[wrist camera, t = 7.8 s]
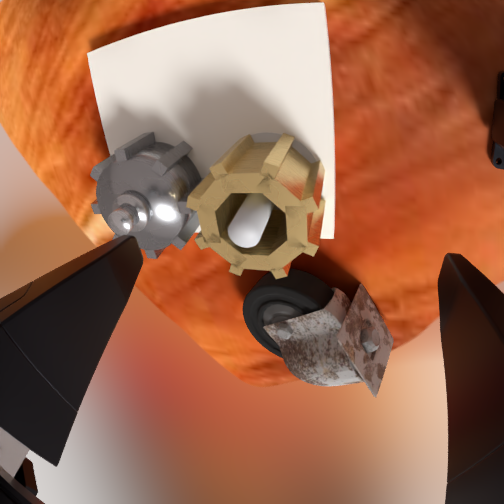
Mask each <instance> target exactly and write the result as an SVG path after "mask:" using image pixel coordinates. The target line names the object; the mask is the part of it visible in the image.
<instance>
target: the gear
mask: <svg viewBox="0 0 504 504" xmlns="http://www.w3.org/2000/svg"><path fill="white" fill-rule="evenodd" d="M192 149H193V148H192V147H191V146H190V145H189V144H187V143H186V142H185V141H182V142H181V143H180V144H178V145H177V146H173V145H170V144H168V143H164V142H156V140H155V136H154V132H148V133H143V134H142V135H140V136H138V137H136V138H134V139H133V140H131V141H129V142H128V143H126V144H124V145H122V146H121V147H119V148H117V149H116V150H114V153H115V154H113V155H111V156H110V157H108V158H107V159H105V160H104V161H102V162H100V163H99V164H97V165H96V166H94V167H93V169H92V172H91V174H90V176H91V177H92V178H94V179H95V180H96V181H97V188H96V195H97V199H96V200H95V201H94V202H93V203H92V204H91V206H92V209H93V212H94V214H102V216H103V218H104V220H105V221H106V223H107V224H108V226H109V227H110V228H111V229H112V231H113V232H114V233H115V235H114V237H113V240H114V239H116V238H118V237H120V236H122V235H133V236H135V237H136V239H137V241H138V244H139V247H140V249H144V250H145V252H146V255H147V258H153V259H157V258H158V257H159V255H160V254H161V253H162V252H163V250H164V249H165V248H166V247H167V246H169V245H170V244H173V245H175V246H176V247H177V248H179V249H180V250H181V249H182V248H183V247H184V246H185V244H186V243H187V242H188V240H189V239H190V238H191V236H192V235H193V234H194V232H195V231H196V229H197V228H198V227H199V225H200V223H199V218H198V214H197V211H195V210H193V209H190V208H187V207H186V205H187V199H188V195H189V194H190V193H191V192H192V191H193V190H194V189H195V188H196V187H197V186H198V185H199V184H200V183H201V182H202V181H203V180H204V178H201V177H200V174H199V172H198V170H197V168H196V166H195V165H194V163H193V162H192V160H191V159H190V158H189V157H188V154H189V153H190V151H191V150H192Z"/></svg>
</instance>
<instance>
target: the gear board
mask: <svg viewBox="0 0 504 504" xmlns="http://www.w3.org/2000/svg"><path fill="white" fill-rule="evenodd" d="M87 55H88V61H89V66H90V72H91V77H92V82H93V86H94V91H95V96H96V100H97V105H98V109H99V113H100V117H101V122H102V126H103V130H104V134H105V138H106V141H107V145H108V149H109V153H110V156H111V155H113V154H115V153H114V150H116V149H117V148H119V147H121V146H122V145H124V144H126V143H128V142H129V141H131V140H133V139H134V138H136V137H138V136H140V135H142V134H143V133H148V132H154V136H155V140H156V142H164V143H168V144H170V145H173V146H177V145H178V144H180V143H181V142H182V141H185V142H186V143H187V144H189V145H190V146H191V147H192V148H193V149H192V150H191V151H190V153H189V154H188V157H189V158H190V159H191V160H192V162H193V163H194V165H195V166H196V168H197V170H198V172H199V174H200V177H201V178H205V177H206V176H207V175H208V174H209V173H210V172H211V171H210V169H209V168H210V167H211V166H212V165H213V164H214V163H215V162H216V161H217V160H218V159H219V158H220V157H221V156H222V155H223V154H224V153H225V152H226V151H227V150H228V149H229V148H231V147H232V146H233V145H234V144H235V143H236V142H237V141H238V140H239V139H240V138H242V137H244V136H246V135H248V134H250V135H251V137H252V139H253V141H254V142H255V143H257V142H278V140H279V139H280V137H281V136H282V134H283V133H286V134H288V135H291V136H294V137H295V138H294V141H293V144H292V147H293V148H294V149H296V150H297V151H298V152H299V153H300V154H301V155H302V156H303V157H305V158H306V159H307V160H308V161H309V162H310V163H314V162H317V161H319V160H321V162H322V164H323V166H324V169H325V175H324V181H323V188H322V194H321V199H323V200H325V201H326V203H325V210H324V217H323V223H322V230H321V237H320V238H325V239H334V228H335V135H334V109H333V90H332V74H331V61H330V49H329V38H328V28H327V19H326V10H325V5H324V3H298V4H284V5H273V6H264V7H255V8H248V9H241V10H235V11H229V12H223V13H218V14H213V15H208V16H203V17H198V18H194V19H190V20H185V21H181V22H177V23H174V24H170V25H166V26H163V27H159V28H156V29H152V30H149V31H146V32H143V33H140V34H137V35H134V36H131V37H128V38H125V39H122V40H119V41H117V42H114V43H111V44H109V45H106V46H103V47H101V48H98V49H96V50H94V51H91V52H89V53H87ZM246 196H247V197H246V199H245V201H244V202H243V204H242V205H241V207H240V209H239V210H238V212H237V214H236V215H235V217H234V219H233V220H232V222H231V223H230V225H229V227H228V235H229V237H230V239H231V240H232V241H233V242H234V243H235V244H236V245H238V246H241V247H245V248H249V247H253V246H255V245H256V244H257V243H258V242H259V240H260V238H261V236H262V233H263V231H264V229H265V226H266V224H267V222H268V219H269V217H270V215H271V213H272V210H281V209H280V208H279V207H277V206H276V205H275V204H274V203H273V202H272V201H270V200H269V199H268V198H267V197H266V196H265V195H263V194H262V193H246ZM200 231H201V227H200V225H199V227H198V228H197V229H196V231H195V232H200Z"/></svg>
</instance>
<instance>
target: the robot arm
mask: <svg viewBox="0 0 504 504" xmlns="http://www.w3.org/2000/svg"><path fill="white" fill-rule="evenodd" d="M492 139H493V146H492V153H491V163H492V164H493V165H494V166H495V167H496V168H498V169H504V71H501V72H500V73H499V74H498V86H497V99H496V101H495V104H494V118H493V128H492ZM497 158H500V160H499V162H498V163H496V159H497ZM142 264H143V255H142V252H141V250H140V247H139V244H138V241H137V239H136V237H135V236H133V235H122V236H120V237H118V238H116V239H114V240H111V241H109V242H107V243H105V244H103V245H101V246H99V247H97V248H95V249H93V250H91V251H89V252H87V253H85V254H83V255H81V256H80V257H77V258H76V259H73V260H72V261H70V262H68V263H66V264H64V265H62V266H60V267H58V268H56V269H54V270H52V271H50V272H49V273H47V274H45V275H43V276H41V277H39V278H38V279H36V280H34V281H32V282H30V283H28V284H27V285H25V286H23V287H21V288H19V289H17V290H16V291H14V292H12V293H10V294H8V295H6V296H4V297H2V298H1V299H0V504H45V503H43V502H42V501H41V500H40V499H38V498H37V497H36V495H37V493H38V489H37V485H36V480H35V475H34V469H33V463H32V462H31V461H30V460H29V459H27V458H26V454H27V453H28V451H29V450H31V451H33V452H34V453H36V454H37V455H39V456H40V457H42V458H44V459H45V460H46V461H48V462H49V463H51V464H53V465H54V466H57V465H58V463H59V461H60V458H61V455H62V452H63V450H64V447H65V444H66V442H67V439H68V436H69V433H70V431H71V428H72V426H73V423H74V421H75V418H76V415H77V411H78V410H79V407H80V405H81V403H82V400H83V397H84V395H85V393H86V391H87V388H88V386H89V383H90V381H91V379H92V377H93V374H94V372H95V370H96V367H97V365H98V363H99V361H100V358H101V356H102V354H103V352H104V350H105V348H106V345H107V343H108V341H109V339H110V337H111V335H112V333H113V331H114V329H115V327H116V324H117V322H118V320H119V318H120V316H121V314H122V312H123V310H124V308H125V306H126V304H127V302H128V299H129V297H130V294H131V292H132V289H133V287H134V284H135V282H136V279H137V277H138V274H139V272H140V269H141V267H142ZM438 296H439V311H440V332H441V342H442V350H443V358H444V368H445V379H446V392H447V407H448V408H447V409H448V473H447V488H446V500H445V504H504V294H503V293H502V292H501V291H500V290H499V289H498V288H497V287H496V286H495V285H494V284H493V283H492V282H491V281H490V280H489V279H488V278H487V277H486V276H485V275H483V274H482V273H481V272H480V271H479V270H478V269H477V268H476V267H475V266H474V265H472V264H471V263H470V262H469V261H468V260H467V259H466V258H464V257H463V256H462V255H461V254H456V253H447V254H446V255H445V257H444V260H443V264H442V267H441V271H440V274H439V278H438Z"/></svg>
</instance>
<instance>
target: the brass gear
mask: <svg viewBox="0 0 504 504" xmlns="http://www.w3.org/2000/svg"><path fill="white" fill-rule="evenodd" d="M294 138H295V137H294V136H291V135H288V134H286V133H283V134H282V136H281V137H280V139H279V140H278V142H257V143H255V142H254V141H253V139H252V137H251V135H250V134H248V135H246V136H244V137H242V138H240V139H239V140H238V141H237V142H236V143H235V144H234V145H233V146H232V147H231V148H229V149H228V150H227V151H226V152H225V153H224V154H223V155H222V156H221V157H220V158H219V159H218V160H217V161H216V162H215V163H214V164H213V165H212V166H211V167H210V168H209V169H210V171H211V172H210V173H209V174H208V175H207V176H206V177H205V178H204V180H203V181H202V182H201V183H200V184H199V185H198V186H197V187H196V188H195V189H194V190H193V191H192V192H191V193H190V194H189V195H188V199H187V205H186V207H187V208H190V209H193V210H195V211H197V214H198V218H199V223H200V227H201V231H200V232H199V234H198V235H197V237H196V238H195V239H194V240H195V242H196V243H197V245H198V246H199V247H200V249H204V248H207V247H210V248H212V249H213V250H214V251H215V252H217V253H218V254H219V255H221V256H222V257H223V258H224V259H226V260H227V261H228V262H229V263H231V267H230V270H229V272H231V273H234V274H236V275H239V276H241V274H242V272H243V270H244V269H253V270H267V271H271V272H272V273H273V275H274V277H275V278H276V279H279V278H283V277H287V276H288V272H289V268H290V265H291V261H292V260H293V259H294V258H296V257H297V256H298V255H300V254H301V253H302V252H303V253H306V254H308V255H311V256H313V257H314V255H315V253H316V251H317V249H318V247H319V243H320V237H321V230H322V223H323V217H324V210H325V203H326V201H325V200H323V199H321V194H322V188H323V181H324V175H325V169H324V166H323V164H322V162H321V160H319V161H317V162H314V163H310V162H309V161H308V160H307V159H306V158H305V157H303V156H302V155H301V154H300V153H299V152H298V151H297V150H296V149H294V148H293V147H292V144H293V141H294ZM246 193H262V194H263V195H265V196H266V197H267V198H268V199H269V200H270V201H272V202H273V203H274V204H275V205H276V206H277V207H279V208H280V209H281V210H272V213H271V215H270V217H269V219H268V222H267V224H266V226H265V229H264V231H263V233H262V236H261V238H260V240H259V242H258V243H257V244H256V245H255V246H253V247H249V248H245V247H241V246H238V245H236V244H235V243H234V242H233V241H232V240H231V239H230V237H229V235H228V227H229V225H230V223H231V222H232V220H233V219H234V217H235V215H236V214H237V212H238V210H239V209H240V207H241V205H242V204H243V202H244V201H245V199H246V197H247V196H246Z"/></svg>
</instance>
